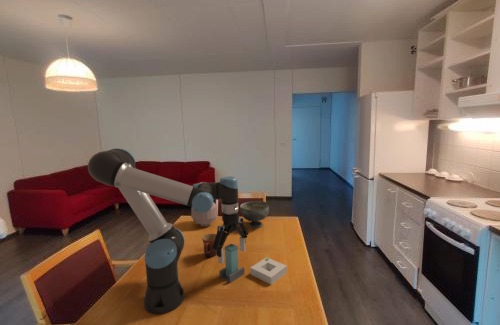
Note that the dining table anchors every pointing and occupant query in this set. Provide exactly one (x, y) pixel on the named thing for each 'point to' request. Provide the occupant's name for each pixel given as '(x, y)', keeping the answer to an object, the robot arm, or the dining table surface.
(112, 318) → the dining table surface
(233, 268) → the plug
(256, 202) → the bowl
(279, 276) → the port
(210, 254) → the mug
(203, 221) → the vase
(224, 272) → the grey u-shaped block
